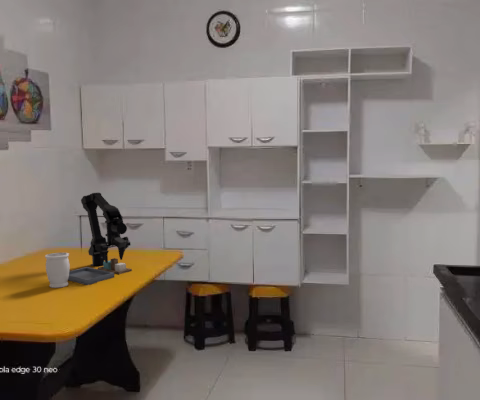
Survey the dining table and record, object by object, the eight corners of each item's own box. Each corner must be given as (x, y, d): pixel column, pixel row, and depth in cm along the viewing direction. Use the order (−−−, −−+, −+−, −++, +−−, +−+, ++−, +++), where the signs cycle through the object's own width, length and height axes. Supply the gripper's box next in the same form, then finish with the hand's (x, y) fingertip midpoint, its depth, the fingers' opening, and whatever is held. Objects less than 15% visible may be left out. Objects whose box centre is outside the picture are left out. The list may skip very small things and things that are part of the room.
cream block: (115, 271, 258) (114, 264, 258) (121, 270, 261) (120, 262, 261) (120, 272, 256) (119, 265, 255) (126, 271, 259) (125, 263, 259)
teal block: (103, 269, 264) (103, 261, 264) (109, 267, 267) (109, 260, 267) (108, 270, 262) (108, 262, 261) (114, 268, 265) (114, 261, 264)
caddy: (97, 271, 264) (97, 258, 263) (110, 268, 270) (109, 255, 269) (119, 276, 253) (119, 262, 252) (132, 272, 259) (131, 259, 258)
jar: (75, 283, 238) (73, 252, 237) (61, 289, 228) (59, 257, 227) (57, 282, 242) (55, 251, 240) (42, 287, 232) (40, 256, 230)
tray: (60, 278, 249) (60, 273, 248) (87, 271, 261) (87, 267, 261) (87, 285, 235) (87, 279, 234) (114, 277, 247) (114, 272, 247)
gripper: (107, 236, 247) (108, 267, 249) (136, 230, 262) (137, 259, 263) (93, 234, 254) (95, 264, 256) (123, 228, 268) (124, 257, 270)
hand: (114, 261), depth 261 cm, fingers open, 9 cm apart
